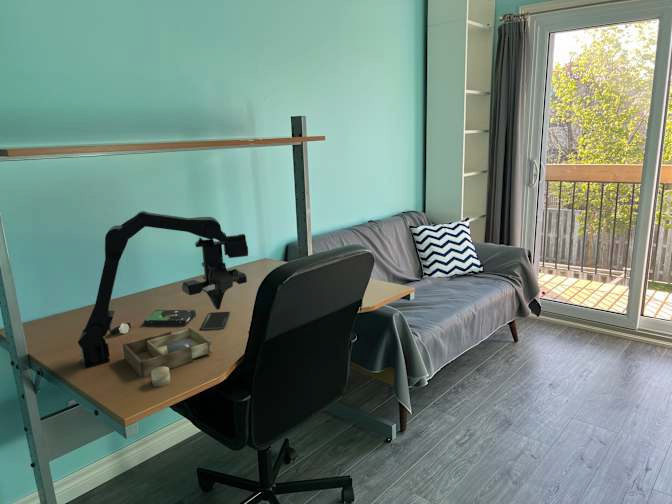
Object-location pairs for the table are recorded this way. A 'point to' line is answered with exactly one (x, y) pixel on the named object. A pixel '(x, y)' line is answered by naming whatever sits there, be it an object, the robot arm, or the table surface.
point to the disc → (178, 345)
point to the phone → (215, 321)
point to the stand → (160, 376)
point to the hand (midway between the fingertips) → (217, 309)
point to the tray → (199, 341)
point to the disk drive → (170, 318)
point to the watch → (120, 329)
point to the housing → (146, 362)
